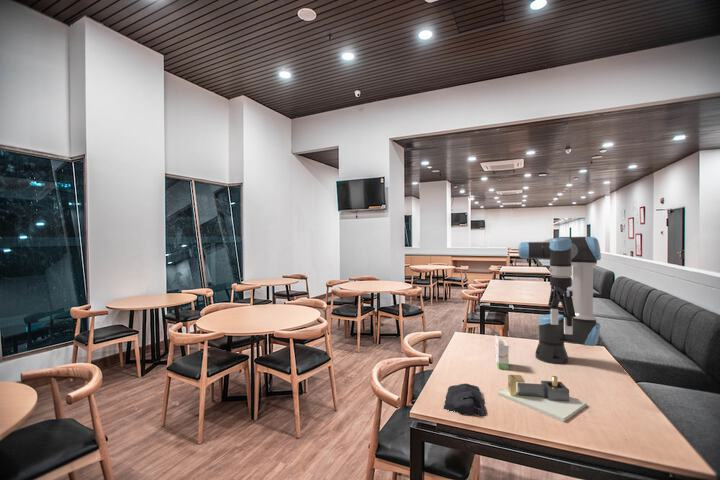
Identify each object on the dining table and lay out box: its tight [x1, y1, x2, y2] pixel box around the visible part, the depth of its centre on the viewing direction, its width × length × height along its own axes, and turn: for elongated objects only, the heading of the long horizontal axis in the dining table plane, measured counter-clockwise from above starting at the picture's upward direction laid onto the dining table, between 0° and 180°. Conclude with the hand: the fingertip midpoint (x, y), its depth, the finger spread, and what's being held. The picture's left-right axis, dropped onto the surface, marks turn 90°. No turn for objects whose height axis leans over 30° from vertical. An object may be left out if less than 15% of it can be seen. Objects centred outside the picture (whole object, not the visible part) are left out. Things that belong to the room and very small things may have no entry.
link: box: [517, 380, 570, 402], centre depth 134 cm, size 17×8×4 cm, turn 81°
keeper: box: [507, 374, 526, 396], centre depth 136 cm, size 5×5×8 cm
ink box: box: [494, 334, 510, 370], centre depth 168 cm, size 9×5×15 cm, turn 168°
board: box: [497, 380, 587, 423], centre depth 133 cm, size 19×25×1 cm
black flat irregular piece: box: [443, 383, 487, 416], centre depth 133 cm, size 15×22×5 cm
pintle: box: [551, 375, 559, 388], centre depth 133 cm, size 2×2×8 cm
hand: (561, 329), depth 135 cm, fingers open, 13 cm apart
